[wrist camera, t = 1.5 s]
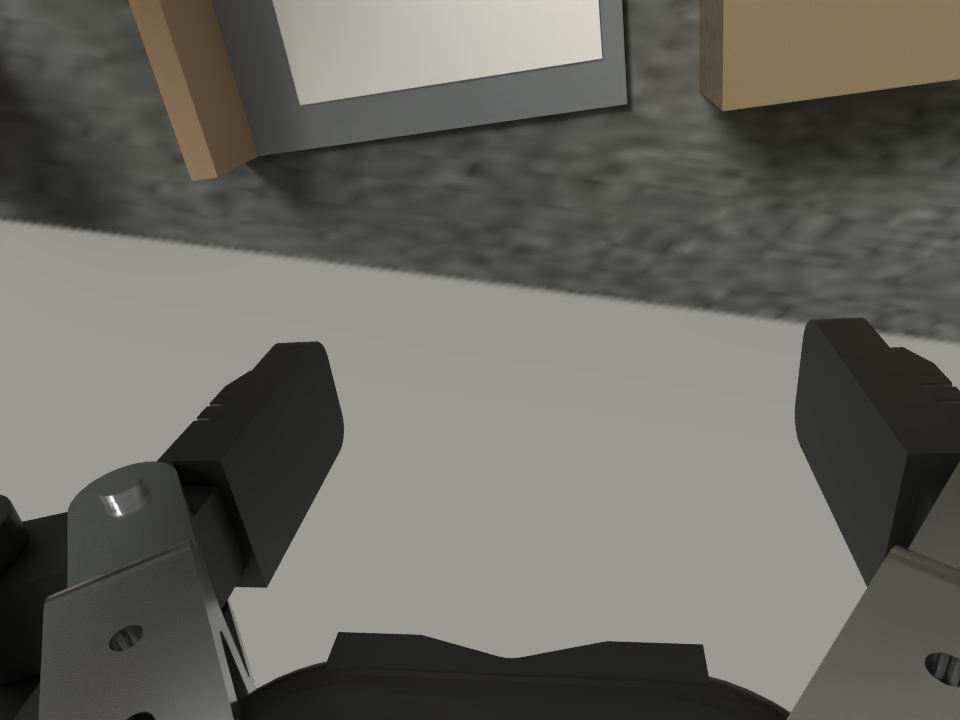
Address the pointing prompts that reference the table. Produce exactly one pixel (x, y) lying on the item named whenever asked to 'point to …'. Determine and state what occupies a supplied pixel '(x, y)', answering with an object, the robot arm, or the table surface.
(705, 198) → the table surface
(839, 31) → the bracket
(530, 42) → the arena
